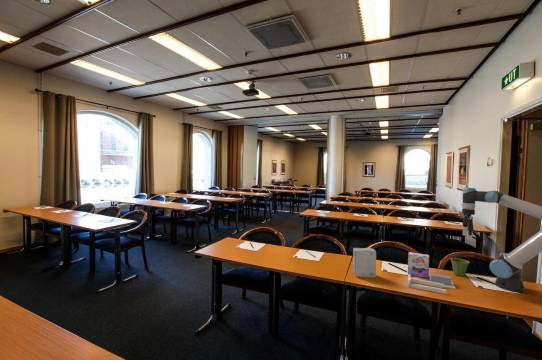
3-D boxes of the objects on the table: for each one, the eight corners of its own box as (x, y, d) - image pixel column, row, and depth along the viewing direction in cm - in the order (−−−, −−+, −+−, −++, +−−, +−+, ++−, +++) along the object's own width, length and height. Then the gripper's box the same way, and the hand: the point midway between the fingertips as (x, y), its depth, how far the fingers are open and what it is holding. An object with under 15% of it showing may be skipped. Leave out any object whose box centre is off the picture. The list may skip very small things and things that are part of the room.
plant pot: (472, 276, 197) (473, 262, 197) (462, 278, 193) (462, 264, 192) (456, 271, 208) (456, 257, 208) (446, 272, 204) (446, 258, 203)
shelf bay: (443, 287, 178) (443, 280, 177) (446, 294, 168) (446, 286, 167) (408, 281, 187) (408, 274, 187) (408, 287, 177) (408, 279, 177)
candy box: (407, 274, 198) (408, 253, 198) (407, 272, 204) (408, 251, 203) (428, 278, 192) (429, 256, 191) (428, 275, 197) (428, 254, 197)
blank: (449, 283, 183) (449, 276, 183) (450, 285, 179) (451, 278, 179) (429, 279, 188) (429, 273, 188) (430, 282, 184) (430, 275, 184)
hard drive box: (373, 273, 199) (373, 248, 198) (376, 278, 192) (376, 251, 191) (352, 272, 201) (353, 247, 200) (354, 276, 193) (355, 250, 192)
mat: (452, 282, 185) (452, 282, 185) (455, 289, 175) (455, 288, 175) (434, 279, 190) (434, 279, 190) (436, 285, 180) (436, 284, 180)
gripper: (458, 206, 201) (457, 233, 202) (466, 210, 179) (464, 240, 180) (470, 207, 198) (469, 234, 199) (479, 211, 176) (478, 242, 176)
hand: (467, 237), depth 189 cm, fingers open, 13 cm apart
